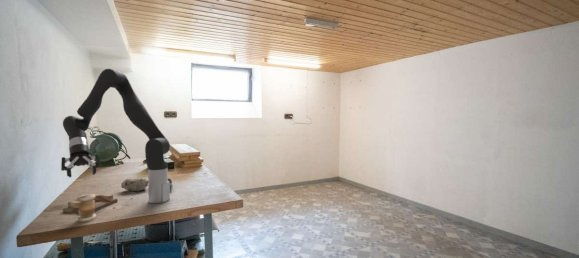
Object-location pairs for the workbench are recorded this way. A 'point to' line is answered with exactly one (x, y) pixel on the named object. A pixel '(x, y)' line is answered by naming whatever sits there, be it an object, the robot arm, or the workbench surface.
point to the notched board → (100, 203)
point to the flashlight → (170, 183)
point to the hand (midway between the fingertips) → (82, 175)
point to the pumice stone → (134, 184)
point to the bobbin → (86, 207)
